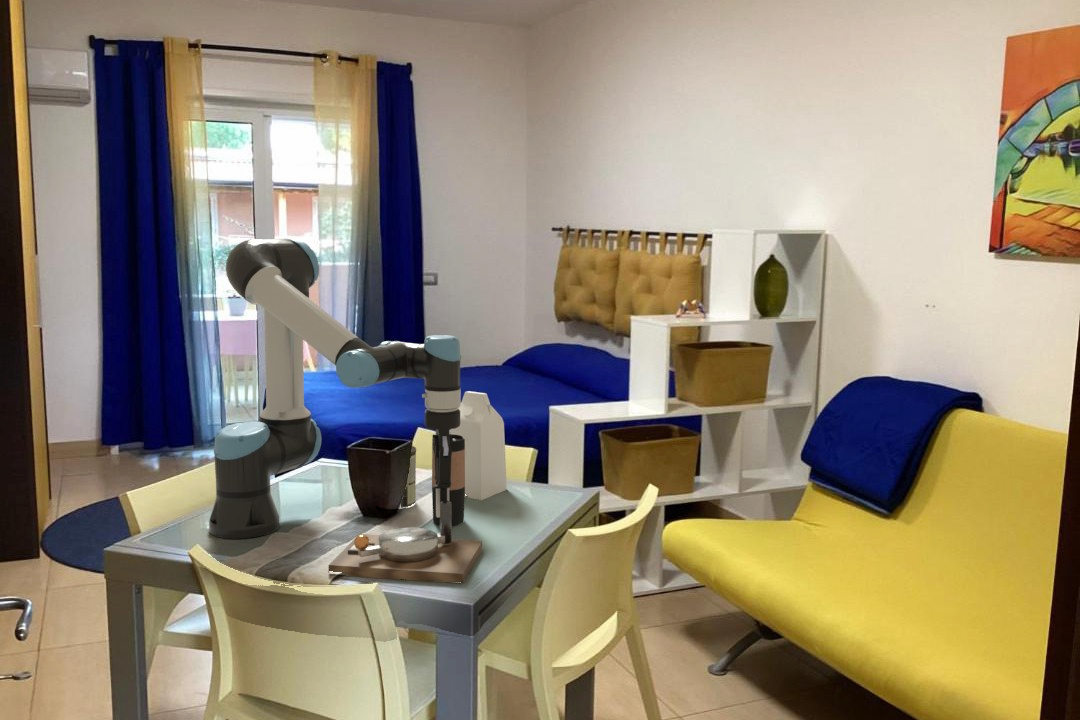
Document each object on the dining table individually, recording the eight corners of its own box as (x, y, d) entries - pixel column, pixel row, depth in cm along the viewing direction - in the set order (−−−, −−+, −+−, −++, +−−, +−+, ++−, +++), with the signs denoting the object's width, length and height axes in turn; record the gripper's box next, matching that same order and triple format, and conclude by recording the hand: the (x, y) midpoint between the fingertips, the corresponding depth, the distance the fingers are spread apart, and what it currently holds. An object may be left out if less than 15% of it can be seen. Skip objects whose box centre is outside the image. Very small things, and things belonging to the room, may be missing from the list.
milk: (506, 489, 244) (507, 392, 241) (481, 500, 235) (481, 398, 231) (469, 482, 251) (470, 387, 247) (443, 492, 241) (443, 393, 237)
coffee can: (390, 513, 223) (390, 455, 221) (366, 503, 230) (365, 448, 228) (425, 504, 230) (424, 449, 228) (400, 495, 237) (399, 441, 235)
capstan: (366, 570, 180) (365, 525, 178) (344, 552, 190) (343, 509, 188) (464, 551, 191) (464, 509, 190) (438, 535, 201) (438, 494, 200)
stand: (328, 574, 184) (328, 561, 183) (360, 542, 202) (359, 530, 202) (462, 583, 180) (462, 570, 180) (482, 550, 199) (482, 537, 198)
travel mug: (425, 523, 216) (425, 439, 213) (443, 514, 222) (443, 432, 220) (453, 528, 212) (453, 443, 209) (471, 519, 219) (471, 436, 216)
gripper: (421, 403, 203) (422, 508, 206) (427, 415, 190) (428, 526, 194) (456, 402, 204) (456, 506, 208) (464, 414, 192) (464, 524, 195)
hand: (442, 515), depth 201 cm, fingers closed
